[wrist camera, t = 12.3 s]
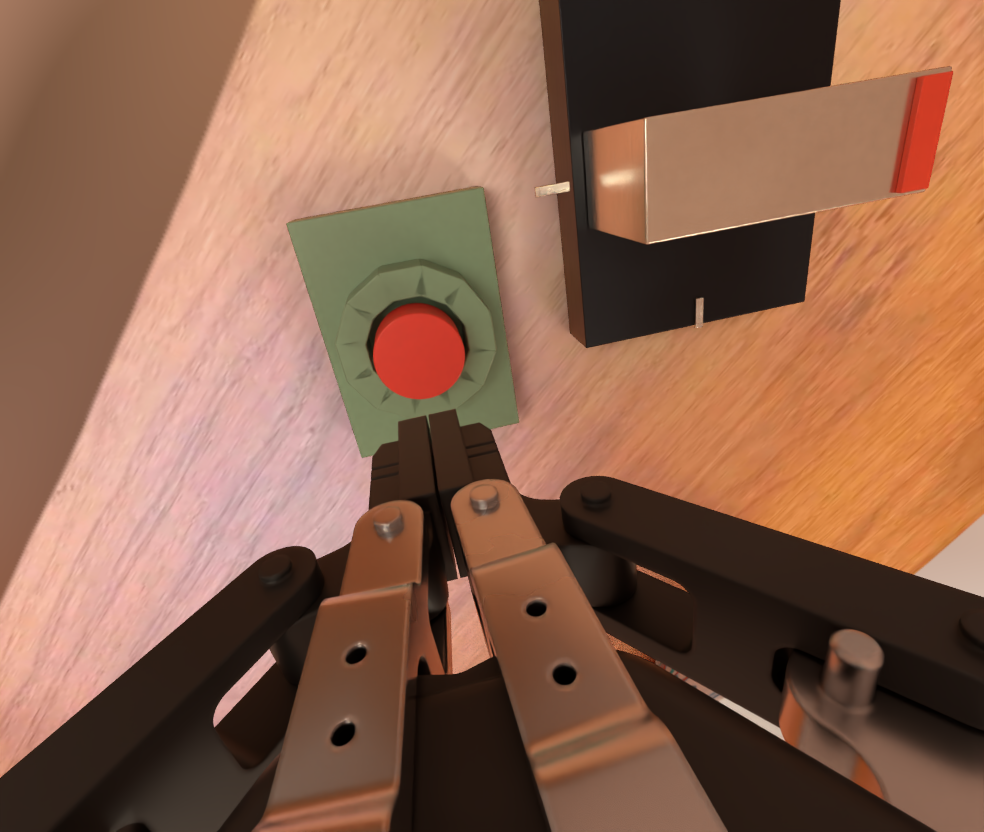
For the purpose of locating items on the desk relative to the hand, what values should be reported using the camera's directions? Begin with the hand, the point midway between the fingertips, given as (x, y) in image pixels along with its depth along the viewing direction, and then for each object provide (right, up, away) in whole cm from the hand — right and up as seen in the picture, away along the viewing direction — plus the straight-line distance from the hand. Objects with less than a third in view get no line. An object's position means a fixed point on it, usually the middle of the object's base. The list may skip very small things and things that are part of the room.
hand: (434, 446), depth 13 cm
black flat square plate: (+10, +12, +10) cm, 19 cm away
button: (-2, +4, +8) cm, 9 cm away
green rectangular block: (-2, +5, +11) cm, 13 cm away
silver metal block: (+10, +11, +8) cm, 17 cm away
